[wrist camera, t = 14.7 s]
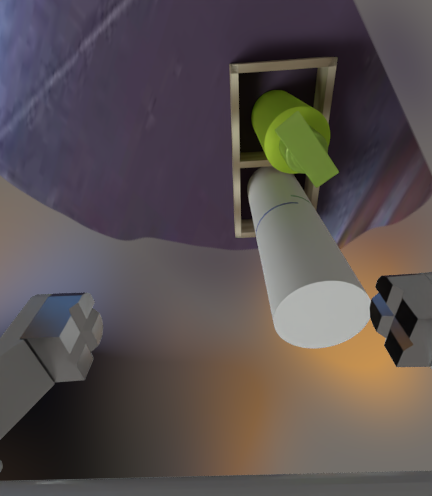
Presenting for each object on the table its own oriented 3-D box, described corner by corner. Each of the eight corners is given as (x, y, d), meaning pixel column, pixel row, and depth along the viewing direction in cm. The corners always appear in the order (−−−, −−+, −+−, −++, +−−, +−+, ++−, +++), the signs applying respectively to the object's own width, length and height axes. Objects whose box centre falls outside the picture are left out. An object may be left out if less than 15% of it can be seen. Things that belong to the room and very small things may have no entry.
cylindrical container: (245, 167, 41) (272, 285, 20) (297, 160, 40) (380, 275, 20) (248, 212, 45) (274, 351, 24) (295, 207, 44) (364, 344, 23)
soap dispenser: (275, 70, 34) (328, 87, 18) (306, 118, 37) (376, 171, 21) (236, 106, 37) (250, 151, 20) (268, 149, 39) (304, 219, 23)
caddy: (229, 63, 34) (230, 64, 31) (326, 56, 34) (337, 57, 30) (234, 224, 46) (235, 237, 43) (305, 220, 45) (312, 234, 42)
